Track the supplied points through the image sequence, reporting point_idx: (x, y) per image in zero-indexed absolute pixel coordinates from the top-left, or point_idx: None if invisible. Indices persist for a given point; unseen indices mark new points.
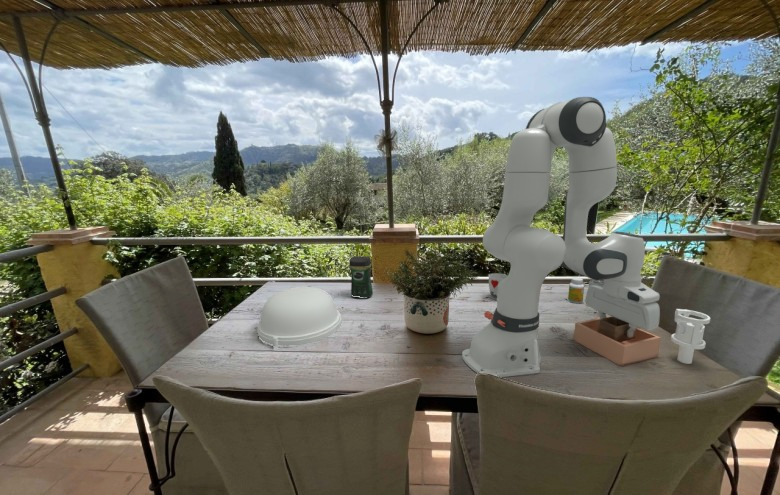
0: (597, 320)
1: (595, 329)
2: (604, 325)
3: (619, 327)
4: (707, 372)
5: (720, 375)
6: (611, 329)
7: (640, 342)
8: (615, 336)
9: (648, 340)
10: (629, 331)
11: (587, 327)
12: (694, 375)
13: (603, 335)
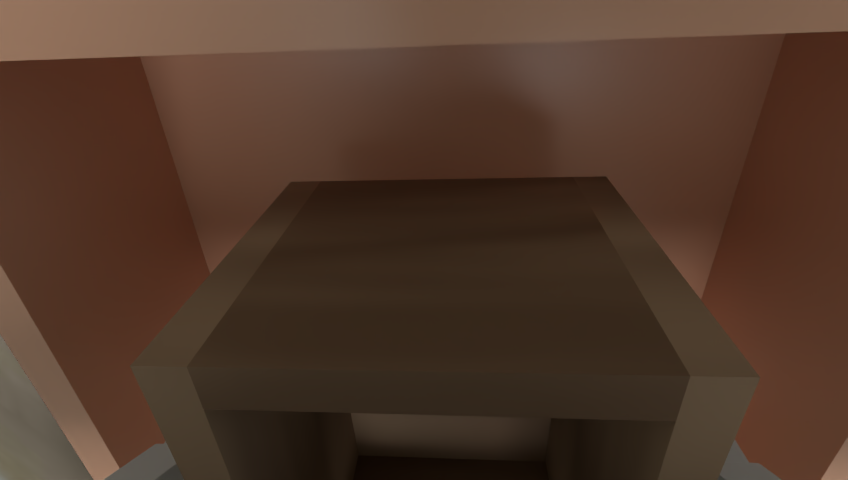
0: (817, 451)
1: (740, 328)
2: (510, 302)
3: (165, 415)
4: (52, 453)
5: (26, 471)
6: (323, 289)
7: (23, 360)
8: (265, 233)
9: (86, 463)
10: (155, 454)
11: (810, 19)
12: (10, 379)
13: (324, 25)
